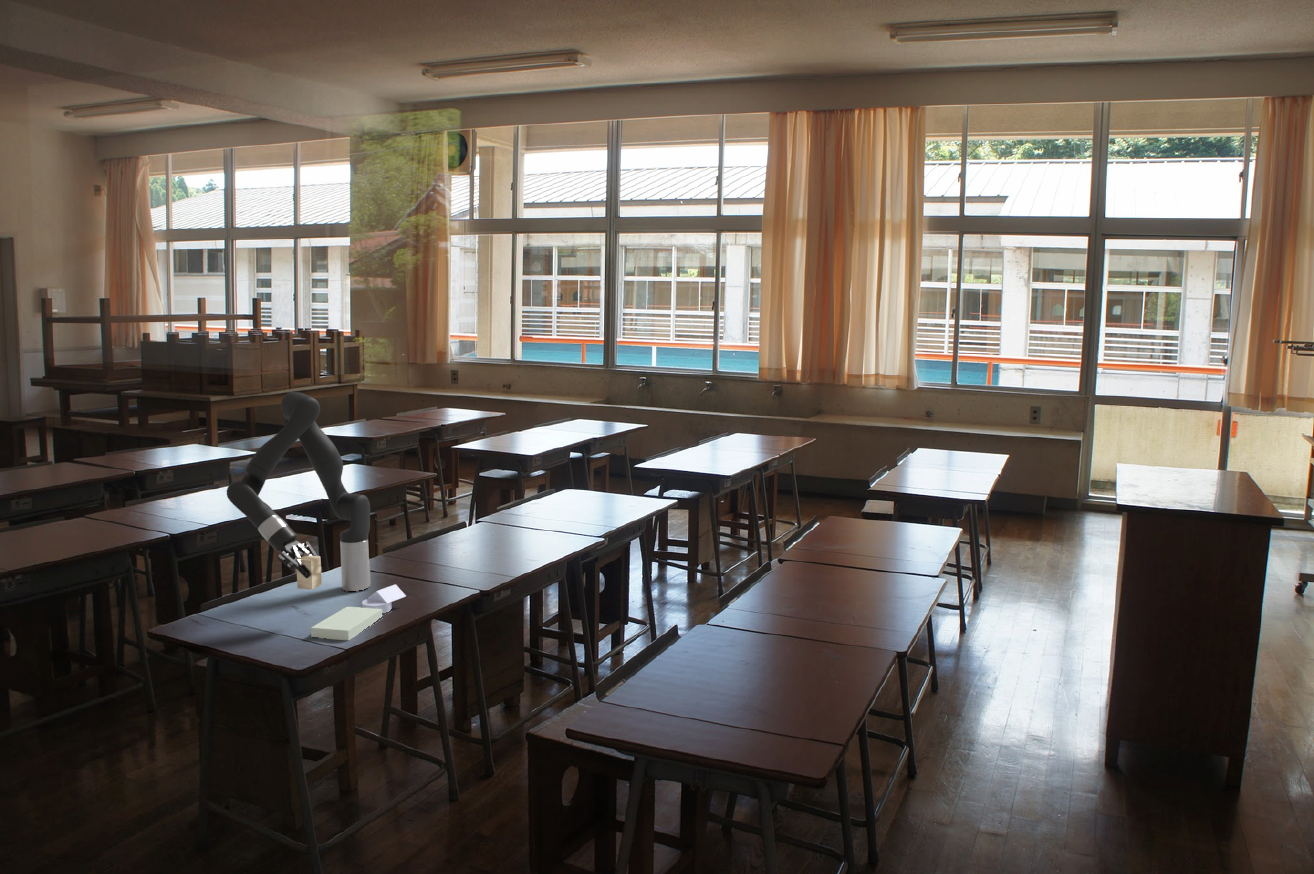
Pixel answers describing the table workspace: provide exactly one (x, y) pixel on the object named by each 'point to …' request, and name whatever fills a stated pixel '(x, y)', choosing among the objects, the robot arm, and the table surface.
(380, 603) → the wedge on round base
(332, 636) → the sage board
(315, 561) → the birch block
